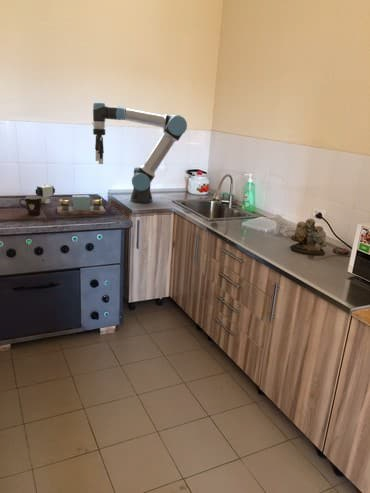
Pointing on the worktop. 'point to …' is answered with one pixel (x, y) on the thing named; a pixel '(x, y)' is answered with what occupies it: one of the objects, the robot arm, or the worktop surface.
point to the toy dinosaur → (282, 225)
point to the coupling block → (80, 202)
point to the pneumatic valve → (45, 192)
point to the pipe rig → (65, 204)
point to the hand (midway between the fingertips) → (99, 162)
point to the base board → (80, 211)
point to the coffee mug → (33, 205)
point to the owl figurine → (309, 238)
